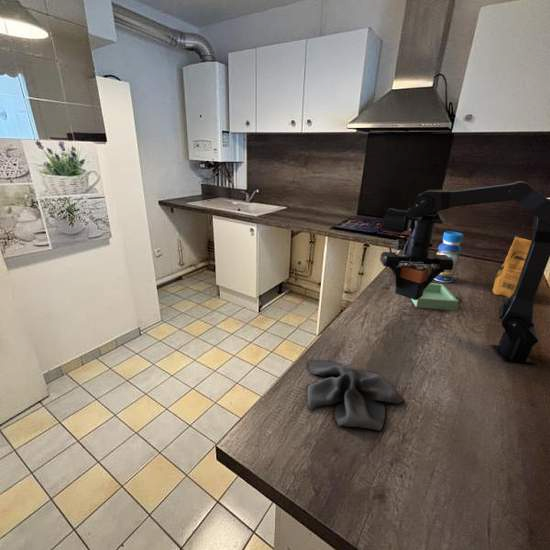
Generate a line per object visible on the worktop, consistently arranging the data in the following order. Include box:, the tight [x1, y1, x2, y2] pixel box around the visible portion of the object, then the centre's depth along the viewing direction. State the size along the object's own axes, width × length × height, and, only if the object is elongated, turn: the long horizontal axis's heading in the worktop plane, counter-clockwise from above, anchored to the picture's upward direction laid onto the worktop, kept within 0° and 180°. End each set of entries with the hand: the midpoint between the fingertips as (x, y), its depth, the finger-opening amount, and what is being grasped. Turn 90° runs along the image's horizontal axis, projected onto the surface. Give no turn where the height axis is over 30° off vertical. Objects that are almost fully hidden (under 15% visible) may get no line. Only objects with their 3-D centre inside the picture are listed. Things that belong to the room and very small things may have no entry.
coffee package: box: [491, 236, 532, 298], centre depth 107 cm, size 10×12×22 cm
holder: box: [410, 282, 460, 311], centre depth 105 cm, size 14×13×4 cm
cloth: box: [307, 360, 403, 432], centre depth 63 cm, size 22×19×6 cm
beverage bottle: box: [433, 231, 464, 283], centre depth 120 cm, size 8×8×20 cm
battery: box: [394, 263, 428, 300], centre depth 86 cm, size 4×7×10 cm, turn 43°
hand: (410, 287), depth 87 cm, fingers closed on battery, 7 cm apart
